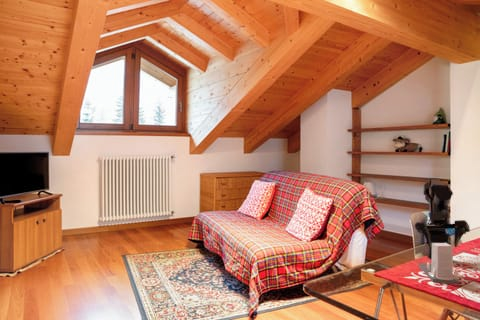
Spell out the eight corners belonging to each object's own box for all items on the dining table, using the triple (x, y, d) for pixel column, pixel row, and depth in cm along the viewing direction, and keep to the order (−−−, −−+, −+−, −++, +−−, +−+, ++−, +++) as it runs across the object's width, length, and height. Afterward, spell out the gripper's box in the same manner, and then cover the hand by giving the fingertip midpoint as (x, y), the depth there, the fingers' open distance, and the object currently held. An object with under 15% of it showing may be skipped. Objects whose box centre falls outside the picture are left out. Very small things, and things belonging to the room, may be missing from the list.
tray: (418, 265, 146) (418, 254, 145) (441, 267, 144) (441, 256, 144) (433, 282, 128) (433, 269, 128) (459, 284, 126) (459, 271, 126)
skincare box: (445, 272, 134) (446, 242, 134) (452, 276, 130) (453, 245, 129) (430, 272, 134) (431, 242, 133) (437, 277, 130) (438, 246, 129)
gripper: (410, 204, 145) (410, 239, 138) (461, 200, 133) (464, 239, 125) (419, 215, 151) (419, 249, 144) (468, 212, 139) (471, 249, 132)
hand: (442, 246), depth 136 cm, fingers open, 9 cm apart
